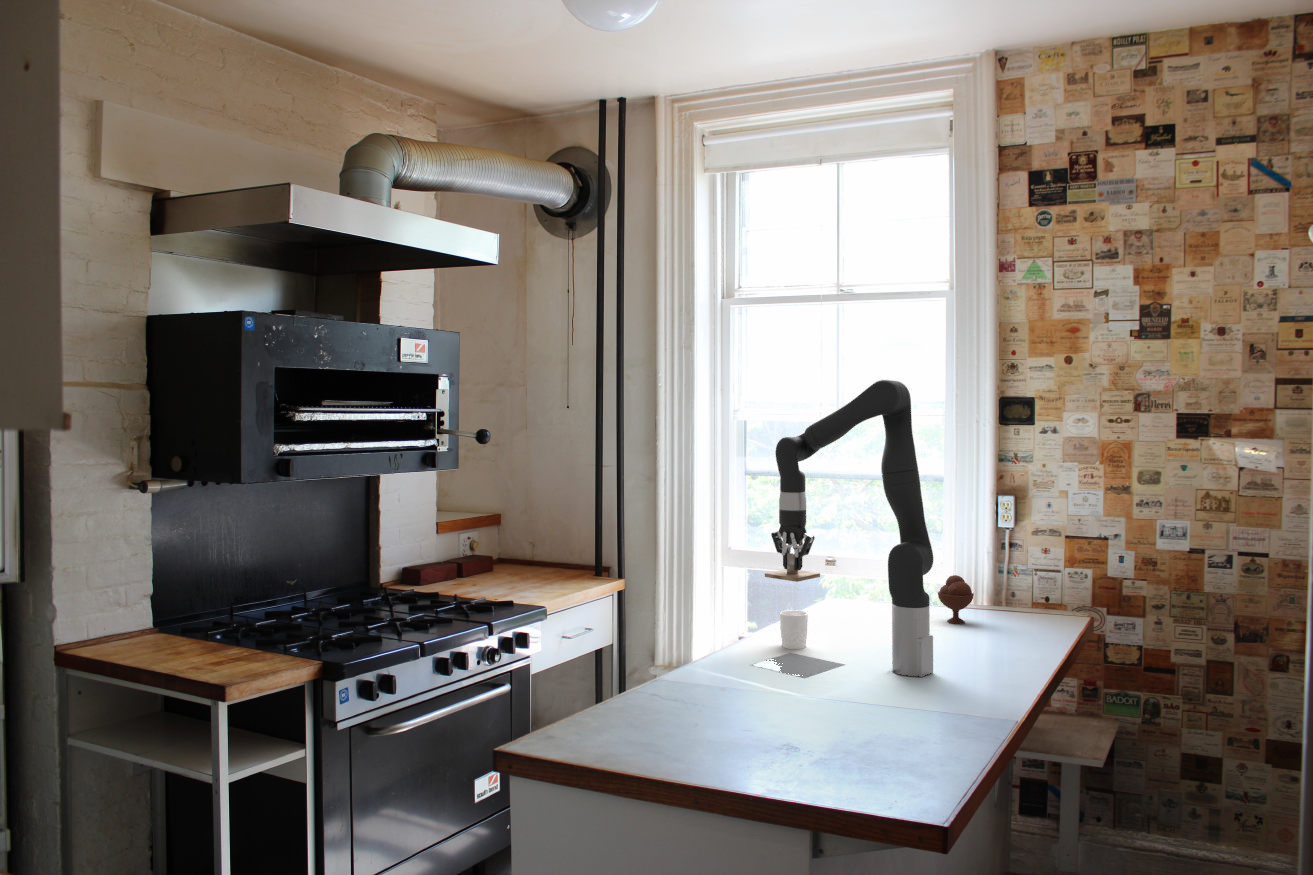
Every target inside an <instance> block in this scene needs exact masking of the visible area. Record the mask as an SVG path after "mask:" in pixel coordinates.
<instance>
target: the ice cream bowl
mask: <svg viewBox="0 0 1313 875" xmlns="http://www.w3.org/2000/svg"><path fill="white" fill-rule="evenodd" d="M974 594H975V593H973V592H972V588H971V586H970V585H969V584H968V583H967V582H966V581H965V580H964V578H963V577H961V576H960V575H957V574H955V575H954V574H953V575H950V576H949V577H948V578H946V581H945V584H944V585H943V586H942V587H940V589H939V591H938V592H937V596H938V599H939V601H940V603H941V604H943V605H944V606H945V607H947V609H950V610H951V611H952V617H950V618H949V619H947V621H946V623H947V624H949V625H951V624H952V625H965V623H966V622H965V620H964V619H962V618H960V615H959V612H960V611H961V610H964V609H965V608H967V607H968V606H969V605H970V604H971V603H972V601H973V599H974Z"/></svg>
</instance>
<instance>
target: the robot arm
mask: <svg viewBox="0 0 1313 875" xmlns="http://www.w3.org/2000/svg"><path fill="white" fill-rule="evenodd" d="M880 416H882V421H883V426H884V432H885V436H884V437H885V439H884V445H883V453H882V458H881V466H880V467H881V468H880V469H881V470H880V471H881V479H882V484H883V486H882V487H883V490H884V494H885V498H886V500H887V502H888V504H889V506H890V508H891V510H892V513H893V515H894V517H895V519H896V522H897V525H898V530H899V531H898V532H899V540H900V543H898V544H896V545H895V546H893V547H892V548H891V550H890V551H889V554H888V558H887V559H888V560H887V576H888V579H887V580H888V590H889V591H888V592H889V595H890V598H891V639H892V641H891V643H892V644H891V649H892V650H891V651H892V652H891V653H892V654H891V655H892V662H891V663H892V668H891V669H892V672H893V673H894V674H897V673H898V675H900V674H901V676H906V675H908V677H918V676H919V677H920V678H923V677H926V676H927V674H928V675H931V674H933V673H934V636H933V635H932V634H930V632H931V631H930V630H931V629H930V626H931V625H930V614H931V613H930V595H929V594H928V593H927V592H926V590H925V588H924V576H925V575H927V574H928V573H929V572H930V571H931V569H932V568H933V564H934V553H933V552H934V551H933V548H932V543H931V540H930V536H929V533H928V529H927V524H926V520H925V519H926V518H925V511H924V510H925V509H924V503H923V496H922V490H921V489H922V487H921V486H922V485H921V481H920V480H921V479H920V473H919V472H920V471H919V467H918V466H919V465H918V461H917V454H916V447H915V442H914V441H915V440H914V435H913V426H912V422H913V420H912V401H911V394H910V391H909V388H908V387H907V386H906V385H905V383H903V382H901V381H898V380H894V379H893V380H892V379H891V380H890V379H880V380H877V381H876V382H873V383H872V384H871V385H869V387H867V388H866V389H864V390H863V391H862V392H861V393H860V394H859V395H858V396H856V397H855V398H853V399H852V400H851V401H849V402H848V403H847V404H845V405H844V406H842V407H841V408H838V409H837V410H836V411H834V412H832V413H830V414H829V415H827V416H825V417H823V418H821V419H819V420H817V421H815V422H813V423H812V424H810V425H809V426H807V427H806V429H805V430H804V432H803V433H802V434H799V435H797V436H784V437H782V438H781V439H779V440H778V442H777V444H776V447H775V460H776V465H777V469H778V474H779V477H780V480H779V482H780V483H779V485H780V486H779V487H780V488H779V490H780V491H779V498H778V499H779V500H778V503H779V504H778V508H779V509H778V518H779V519H778V523H779V530H777V531H774V532H771V534H770V535H771V538H772V541H773V544H774V548H775V549H776V552H777V553H778V554H781V555H782V567H783V568H784V569H783V570H785V569H787V553H792V552H791V551H792V550H791V549H793V553H795V561H794V569H795V570H796V571H798V570H799V571H802V568H803V557H805V556H807V555H809V554H810V551H811V549H812V546H813V544H814V540H815V538H816V537H815V535H810V534H809V533H808V532H807V529H806V525H807V497H806V496H807V495H806V475H805V473H804V472H803V471H801V470H800V466H799V462H803V461H805V460H807V459H809V458H810V457H812V456H813V455H814V454H816V453H817V452H818V451H819V450H821V449H823V448H825V447H827V446H829V445H830V444H832V443H834V442H836V441H838V440H840V438H842V437H843V436H845V435H847V433H849V432H850V431H851V430H852V429H853V428H855V427H856V426H857V425H859V424H861V423H863V422H865V421H867V420H870V419H873V418H876V417H880ZM930 673H931V674H930ZM925 675H926V676H925Z"/></svg>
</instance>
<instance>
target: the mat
mask: <svg viewBox="0 0 1313 875" xmlns="http://www.w3.org/2000/svg"><path fill="white" fill-rule="evenodd" d="M771 659H774V660H772V661H774V662H777V664H776V665H778V664H779V663H780V664H779V665H778V666H782V667H780V669H781V670H780V671H781V672H782V673H781V674H784V673H786V674H785V675H788V673H789V674H791V675H790V676H793V675H792V674H794V675H795V674H796V675H798V674H799V675H800V676H796V677H797V678H802V679H807V678H810V677H813V676H815V675H819V674H822V673H825V672H828V671H830V670H833V669H836V668H840V667H843V666H846V664H844V663H840V662H835V661H831V660H826V659H821V658H816V657H813V656H807V655H804V654H798V653H793V652H788V653H785V654H781V655H779V656H774V657H772V658H771ZM765 660H766V661H767V659H765ZM775 660H776V661H775ZM769 661H771V660H769ZM782 663H783V664H782ZM774 664H775V663H774ZM780 671H779V672H778V673H780ZM802 675H803V676H802Z"/></svg>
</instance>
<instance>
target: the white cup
mask: <svg viewBox="0 0 1313 875" xmlns="http://www.w3.org/2000/svg"><path fill="white" fill-rule="evenodd" d="M808 618H809V613H808V612H807V611H804V610H796V609H795V610H793V609H789V610H781V611H780V612H779V619H780V623H779V624H780V637H781V646H782V648H785V649H790V650H800V649H805V648H807V640H808V639H807V636H808V620H809V619H808Z"/></svg>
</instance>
